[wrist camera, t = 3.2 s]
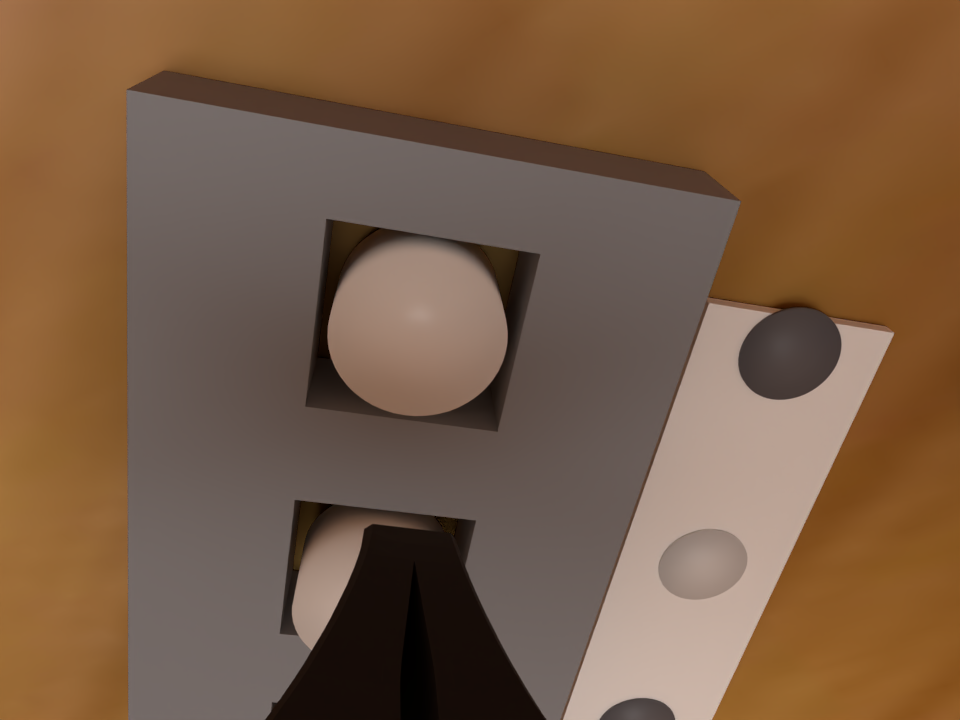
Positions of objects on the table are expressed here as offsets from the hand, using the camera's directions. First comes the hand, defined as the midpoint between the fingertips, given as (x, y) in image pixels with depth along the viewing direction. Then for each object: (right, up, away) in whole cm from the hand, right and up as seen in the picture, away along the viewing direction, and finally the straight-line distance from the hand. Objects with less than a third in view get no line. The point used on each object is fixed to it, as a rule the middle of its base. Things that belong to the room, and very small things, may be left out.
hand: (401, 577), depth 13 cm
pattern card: (+8, -2, +11) cm, 14 cm away
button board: (-2, -1, +10) cm, 10 cm away
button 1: (0, +5, +6) cm, 8 cm away
